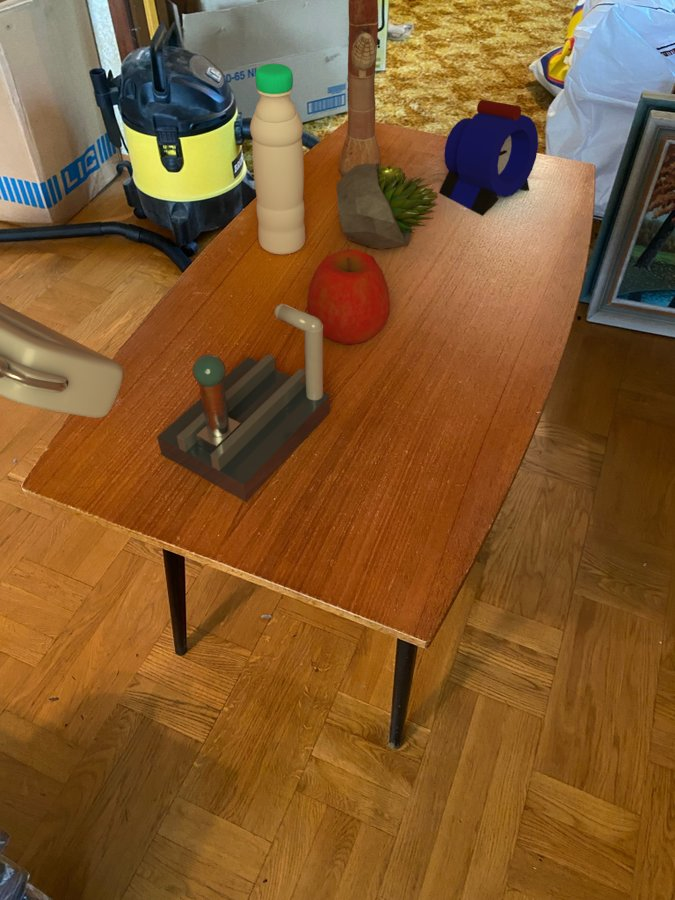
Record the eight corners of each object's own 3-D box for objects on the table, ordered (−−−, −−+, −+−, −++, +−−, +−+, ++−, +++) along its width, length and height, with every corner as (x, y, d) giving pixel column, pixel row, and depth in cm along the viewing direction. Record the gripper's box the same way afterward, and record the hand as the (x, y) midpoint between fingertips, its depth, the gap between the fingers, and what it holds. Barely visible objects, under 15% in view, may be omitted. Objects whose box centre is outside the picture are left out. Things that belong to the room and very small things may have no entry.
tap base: (161, 454, 79) (136, 360, 69) (249, 374, 88) (239, 280, 78) (246, 502, 75) (233, 409, 65) (330, 413, 84) (330, 318, 74)
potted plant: (346, 187, 113) (440, 169, 109) (353, 267, 112) (448, 251, 108) (324, 156, 101) (429, 134, 97) (331, 245, 101) (437, 226, 97)
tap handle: (196, 444, 76) (180, 363, 68) (220, 422, 79) (207, 341, 70) (219, 456, 75) (206, 376, 67) (243, 433, 78) (233, 352, 69)
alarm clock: (485, 217, 114) (503, 122, 103) (429, 188, 120) (440, 95, 109) (533, 192, 119) (554, 100, 108) (477, 165, 125) (492, 75, 114)
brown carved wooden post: (346, 157, 127) (351, -42, 104) (386, 163, 126) (399, -37, 103) (329, 185, 120) (330, -21, 98) (371, 192, 119) (382, -15, 96)
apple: (327, 294, 100) (327, 225, 92) (400, 313, 97) (406, 244, 89) (294, 339, 93) (291, 269, 85) (372, 361, 90) (376, 291, 82)
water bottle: (308, 232, 110) (305, 59, 92) (302, 258, 106) (297, 81, 87) (263, 229, 111) (250, 56, 92) (255, 255, 106) (240, 78, 87)
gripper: (33, 322, 36) (190, 362, 49) (-199, 203, 43) (-10, 265, 56) (-9, 436, 37) (156, 446, 49) (-230, 301, 44) (-36, 340, 57)
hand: (67, 349), depth 53 cm, fingers closed
